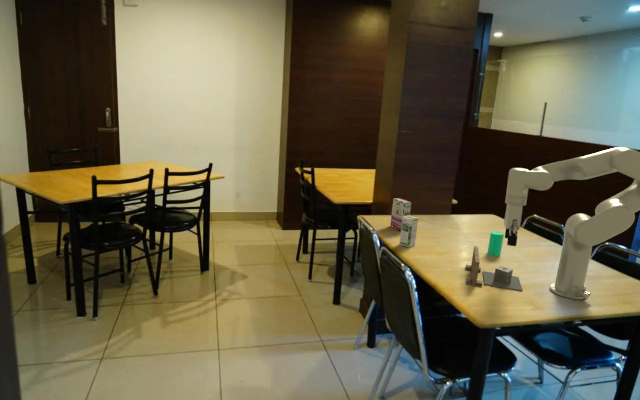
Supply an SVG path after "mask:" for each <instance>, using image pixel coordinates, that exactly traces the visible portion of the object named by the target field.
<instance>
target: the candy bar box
mask: <svg viewBox="0 0 640 400" xmlns="http://www.w3.org/2000/svg"><path fill="white" fill-rule="evenodd" d="M411 209H412V201H409V200H406V199H403V198H399V197H396V198H393V199H392V208H391V217H390V225H391V226H393V227H394V229H395V228H396V229H395V230H397V229H398V230H397V231H399V230H400V231H399V232H401V227H402V218H403V216H407V215H409V216H411V212H412V211H411ZM391 226H390V227H391ZM393 227H392V228H393Z"/></svg>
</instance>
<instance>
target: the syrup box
mask: <svg viewBox="0 0 640 400" xmlns="http://www.w3.org/2000/svg"><path fill="white" fill-rule="evenodd" d="M418 222H419V217H416V216H412V215H410V216H409V215H407V216H403V218H402V227H401V231H400V237H399V245H400V246H403V247H406V248H411V247H414V246H415V245H416V239H417V231H418V230H417V229H418Z"/></svg>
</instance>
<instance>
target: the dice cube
mask: <svg viewBox="0 0 640 400" xmlns="http://www.w3.org/2000/svg"><path fill="white" fill-rule="evenodd" d="M494 269H495V270H494V273H495V274H494V280H495V281H498V282H501V283H504V284H507V283H508V282H510V281H511V278H512V276H513V271H514V269H512V268H510V267H506V266H503V265H500V266H497V267H495V268H494Z"/></svg>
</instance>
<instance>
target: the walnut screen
mask: <svg viewBox="0 0 640 400" xmlns="http://www.w3.org/2000/svg"><path fill="white" fill-rule="evenodd" d="M479 253H480V252H479V247H478V245H477V246H476V245H475V246H473V252H472V258H471V259H472V260H471V264H465V270H466V271H470V272H471V273H470V275H471V277H470V278H468V277H467V278H466V279H465V285H468V286H470V285H471V286H472V285H473V287H480V286H482V287H483V280H478V276H479V273H481V270H482V268H481V267H480V254H479Z"/></svg>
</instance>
